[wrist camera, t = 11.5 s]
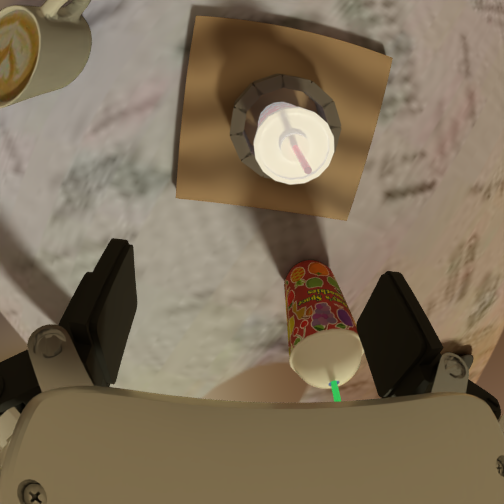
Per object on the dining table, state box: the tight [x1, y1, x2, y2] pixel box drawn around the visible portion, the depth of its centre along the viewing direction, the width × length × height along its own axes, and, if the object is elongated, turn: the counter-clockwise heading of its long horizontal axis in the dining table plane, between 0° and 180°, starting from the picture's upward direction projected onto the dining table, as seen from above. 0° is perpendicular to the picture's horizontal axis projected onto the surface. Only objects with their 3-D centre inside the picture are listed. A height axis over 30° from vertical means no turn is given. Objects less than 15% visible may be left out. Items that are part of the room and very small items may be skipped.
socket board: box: [176, 16, 393, 221], centre depth 29 cm, size 20×20×5 cm
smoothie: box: [284, 260, 364, 402], centre depth 35 cm, size 8×8×20 cm
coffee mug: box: [0, 0, 92, 108], centre depth 19 cm, size 13×10×10 cm
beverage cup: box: [254, 102, 334, 185], centre depth 24 cm, size 6×6×14 cm
